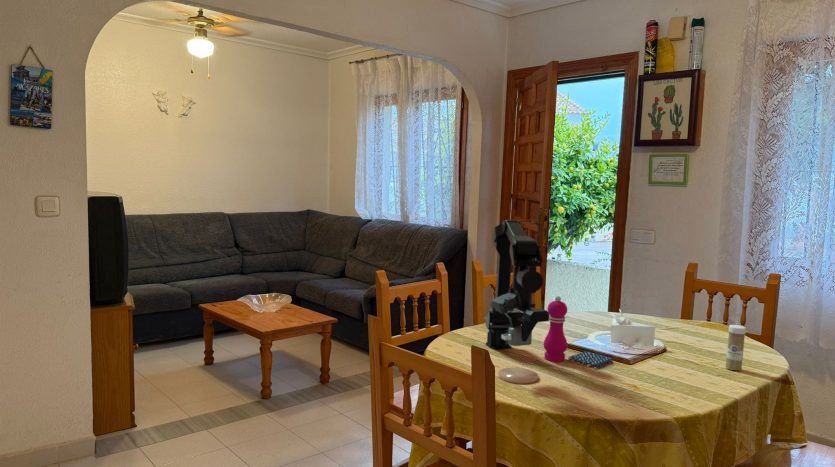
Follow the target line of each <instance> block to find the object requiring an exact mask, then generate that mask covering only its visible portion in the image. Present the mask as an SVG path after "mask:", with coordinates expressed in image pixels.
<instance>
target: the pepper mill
mask: <svg viewBox="0 0 835 467" xmlns="http://www.w3.org/2000/svg"><path fill="white" fill-rule="evenodd" d="M561 300H562V298H561V296H559V295H557V296H555V298H554V300H553V301H551V302H550V303H548V306H547V311H548V313H549V314H550V316H549V321H548V322H549V329H548V332H547V334H546V336H545V338H544V340H543V348H544V350H545V351H544V356H543V358H544V360H546V361H549V362H554V363H562V362H564V361H565V360H566V353H564V352H566V351H567V349H568V342H567V338H566V336H565V332H564V323H565V322H566V315H567V313H568V307H567V304H566V303H565V302H563V301H561Z"/></svg>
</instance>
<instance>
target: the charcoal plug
mask: <svg viewBox="0 0 835 467" xmlns="http://www.w3.org/2000/svg"><path fill="white" fill-rule="evenodd" d="M501 338H502V339H504V340H508V344H509V345H510V346H512V347H513V346H514V347H520V346H521V347H522V346H529V345H532V340H533V339H532V338H533V331H532V332H531V334H530V335H529V337H528V339H527V341H524V342H523V341H522V325H521V326H511V327H509V333H508V334H502V335H501Z"/></svg>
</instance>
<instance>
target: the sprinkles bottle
mask: <svg viewBox="0 0 835 467" xmlns="http://www.w3.org/2000/svg"><path fill="white" fill-rule="evenodd" d="M746 333H747V328H746V326H743V325H739V324H730V325H728V340H727V349H726V362H725V367H726V368H727V370H728V369H730V370H729V371H732V370H741V371H743V369H742V366H743V358H744V350H745V348H744V347H745V338H746V337H745V336H746Z"/></svg>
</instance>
